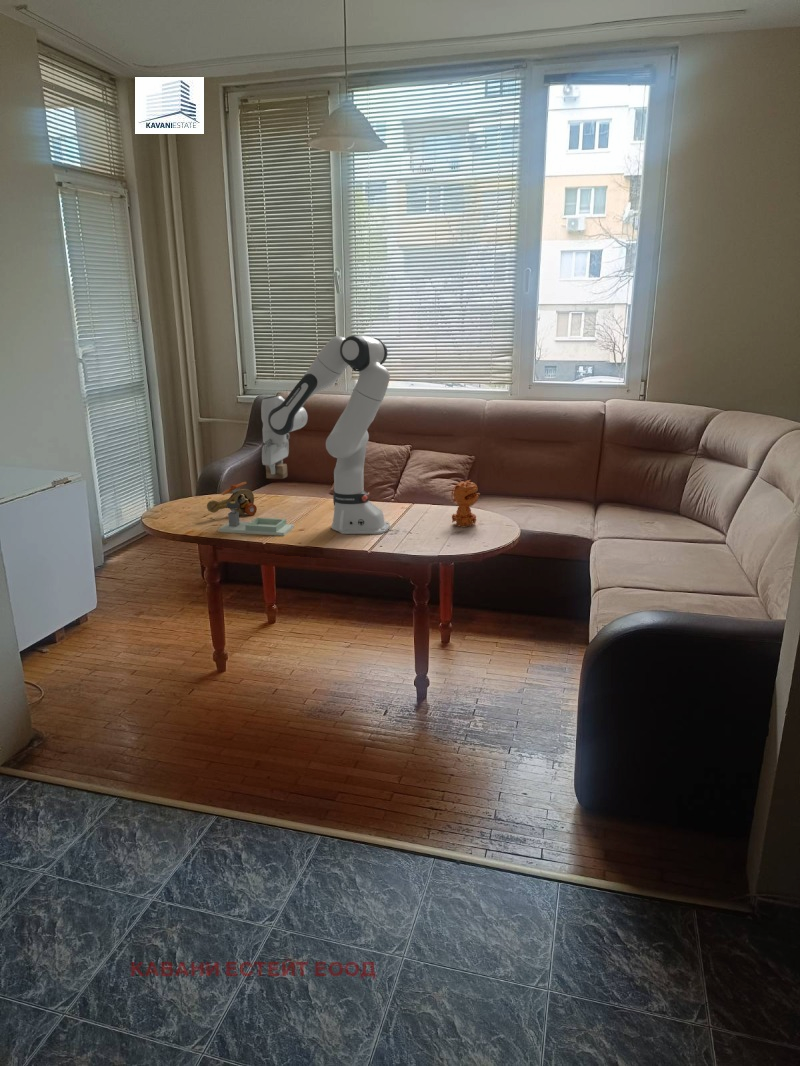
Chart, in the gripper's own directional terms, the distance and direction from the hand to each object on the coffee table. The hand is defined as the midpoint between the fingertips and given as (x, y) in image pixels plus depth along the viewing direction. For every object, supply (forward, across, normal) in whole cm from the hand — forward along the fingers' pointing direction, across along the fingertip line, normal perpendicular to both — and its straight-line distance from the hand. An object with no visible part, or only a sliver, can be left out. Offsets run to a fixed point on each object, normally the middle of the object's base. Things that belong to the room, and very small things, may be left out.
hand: (276, 472), depth 283 cm
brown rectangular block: (+2, 0, 0) cm, 2 cm away
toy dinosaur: (+20, +4, -75) cm, 77 cm away
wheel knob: (+14, -18, +11) cm, 25 cm away
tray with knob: (+19, -18, +2) cm, 26 cm away
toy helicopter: (+19, -2, +19) cm, 26 cm away
